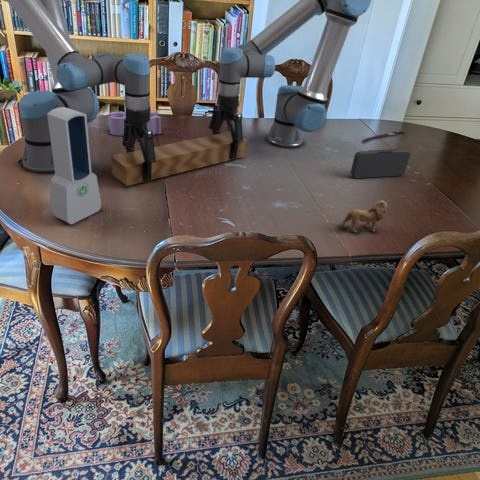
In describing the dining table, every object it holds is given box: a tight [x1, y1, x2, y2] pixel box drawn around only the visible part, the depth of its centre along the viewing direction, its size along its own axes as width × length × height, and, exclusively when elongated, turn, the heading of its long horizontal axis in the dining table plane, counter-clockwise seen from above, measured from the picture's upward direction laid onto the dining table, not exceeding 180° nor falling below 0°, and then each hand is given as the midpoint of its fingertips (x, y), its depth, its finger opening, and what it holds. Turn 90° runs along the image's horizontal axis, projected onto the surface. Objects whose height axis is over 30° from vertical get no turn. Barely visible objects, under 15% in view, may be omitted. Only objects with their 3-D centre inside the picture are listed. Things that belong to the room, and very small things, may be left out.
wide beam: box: [110, 131, 249, 187], centre depth 165 cm, size 51×10×7 cm, turn 131°
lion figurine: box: [339, 199, 388, 234], centre depth 139 cm, size 15×5×9 cm, turn 110°
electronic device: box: [47, 107, 102, 225], centre depth 126 cm, size 12×8×30 cm, turn 148°
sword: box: [363, 130, 404, 143], centre depth 215 cm, size 31×3×1 cm, turn 126°
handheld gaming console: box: [350, 148, 411, 179], centre depth 174 cm, size 23×3×10 cm, turn 108°
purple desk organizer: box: [108, 110, 162, 136], centre depth 190 cm, size 20×12×7 cm, turn 109°
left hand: (139, 173), depth 156 cm, fingers closed on wide beam, 10 cm apart
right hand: (224, 153), depth 178 cm, fingers closed on wide beam, 10 cm apart
